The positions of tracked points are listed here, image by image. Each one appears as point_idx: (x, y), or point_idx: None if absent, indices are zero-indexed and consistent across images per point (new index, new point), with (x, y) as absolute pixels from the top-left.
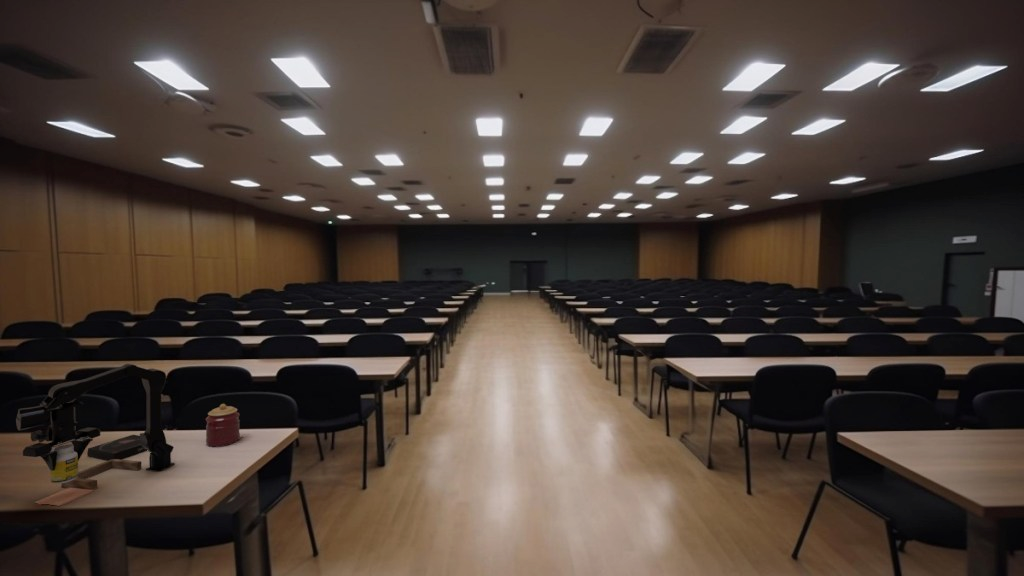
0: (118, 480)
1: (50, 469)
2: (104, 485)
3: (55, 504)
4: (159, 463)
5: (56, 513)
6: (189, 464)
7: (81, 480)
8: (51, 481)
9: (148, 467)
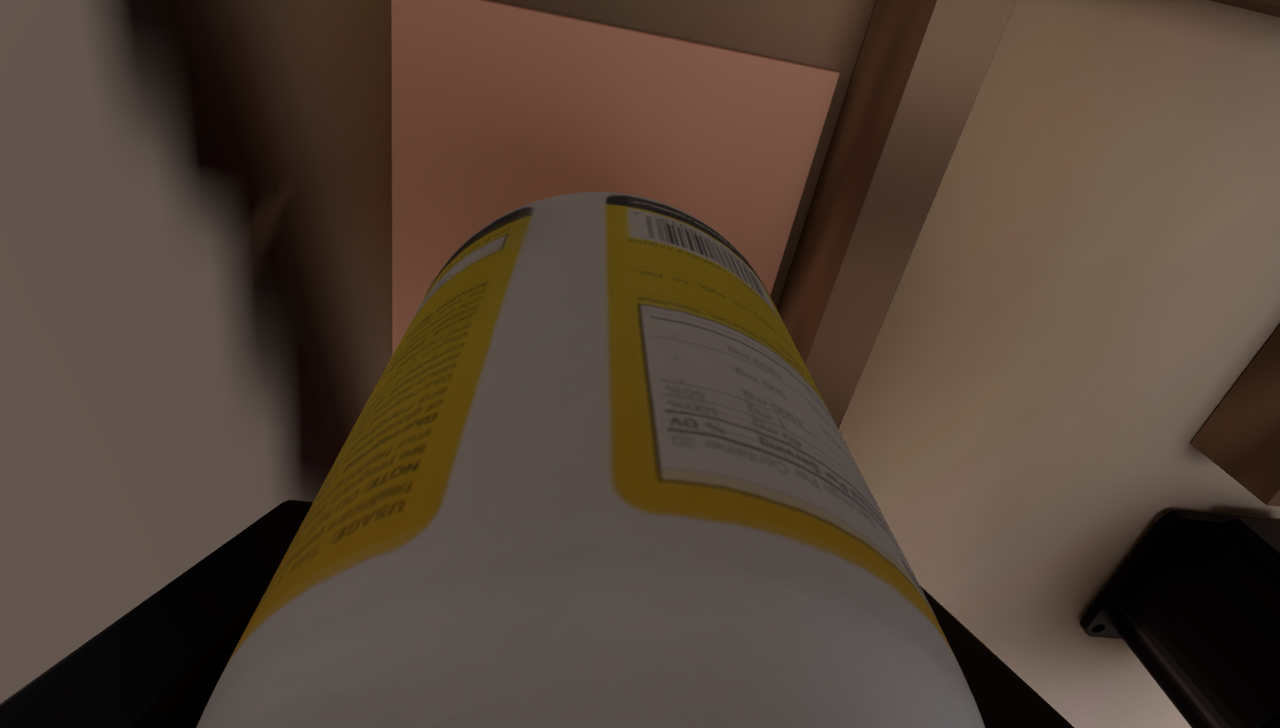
0: (966, 442)
1: (268, 524)
2: (864, 403)
3: (395, 332)
4: (1161, 663)
5: (286, 462)
6: (1154, 711)
7: (850, 275)
8: (429, 288)
9: (1204, 521)
